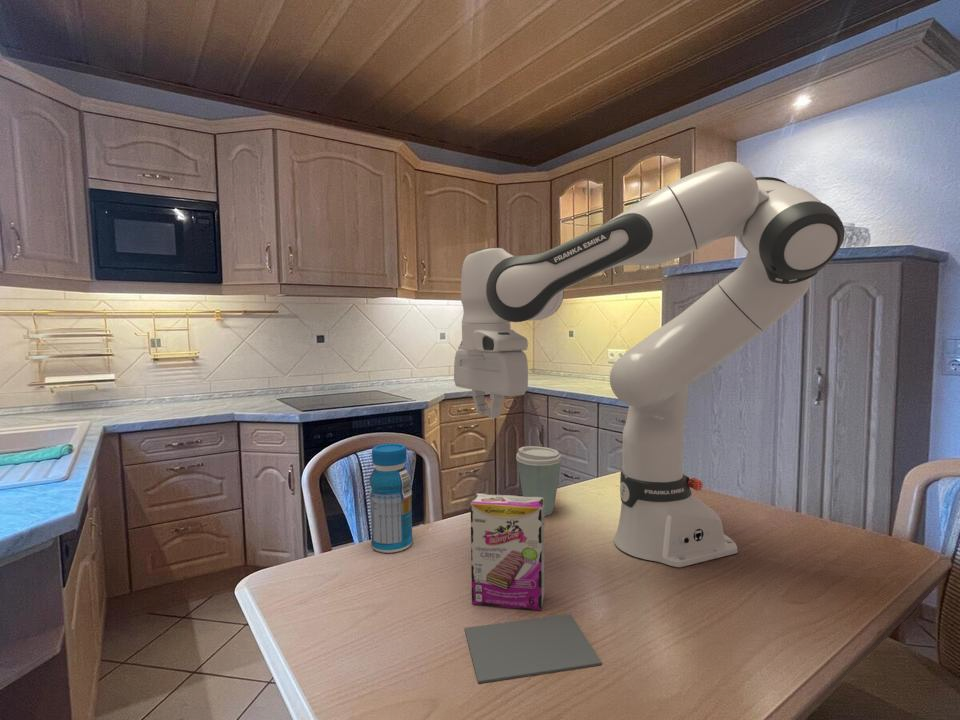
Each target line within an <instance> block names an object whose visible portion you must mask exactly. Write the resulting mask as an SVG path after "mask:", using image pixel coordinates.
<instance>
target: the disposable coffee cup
mask: <svg viewBox="0 0 960 720" xmlns="http://www.w3.org/2000/svg"><path fill="white" fill-rule="evenodd" d="M562 457H563V456H562V455H561V454H560V452H559V451H558V450H557V449H553V448H551V447H545V446H534V445H533V446H532V445H528V446H522V447H519V448H518V452H517V453H516V456H515V459H516V461H517V466H518V471H519V472H518V474H519V480H520V486H521V493H522V496H528V497H543V498H544V517H548V516H551V515H552V513H553V511H554V510H555V503H556V497H557V490H558V485H559V484H558V483H559V476H560V471H561V464H562V461H563V459H562ZM550 514H551V515H550ZM547 515H548V516H547Z"/></svg>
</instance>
